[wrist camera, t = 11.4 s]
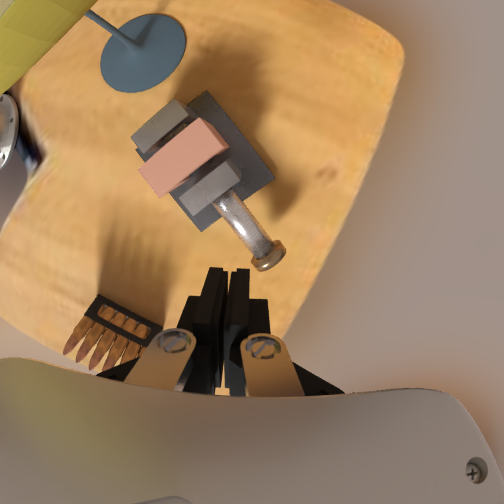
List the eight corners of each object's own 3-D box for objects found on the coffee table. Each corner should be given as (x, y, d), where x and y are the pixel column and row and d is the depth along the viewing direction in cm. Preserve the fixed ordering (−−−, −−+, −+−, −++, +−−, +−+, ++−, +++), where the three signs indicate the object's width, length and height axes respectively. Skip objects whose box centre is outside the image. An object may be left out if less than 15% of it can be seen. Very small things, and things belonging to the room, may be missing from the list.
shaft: (201, 192, 27) (194, 199, 23) (229, 170, 26) (226, 174, 23) (256, 261, 30) (257, 277, 26) (283, 243, 29) (288, 256, 26)
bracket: (138, 149, 27) (108, 152, 20) (208, 92, 25) (195, 75, 18) (202, 229, 31) (190, 254, 24) (274, 177, 29) (282, 187, 22)
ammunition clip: (163, 327, 36) (139, 390, 25) (160, 335, 37) (136, 398, 26) (98, 293, 34) (57, 345, 23) (96, 303, 35) (57, 355, 24)
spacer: (165, 162, 27) (137, 169, 20) (212, 125, 26) (199, 117, 18) (182, 184, 28) (159, 198, 21) (229, 147, 27) (222, 147, 19)
